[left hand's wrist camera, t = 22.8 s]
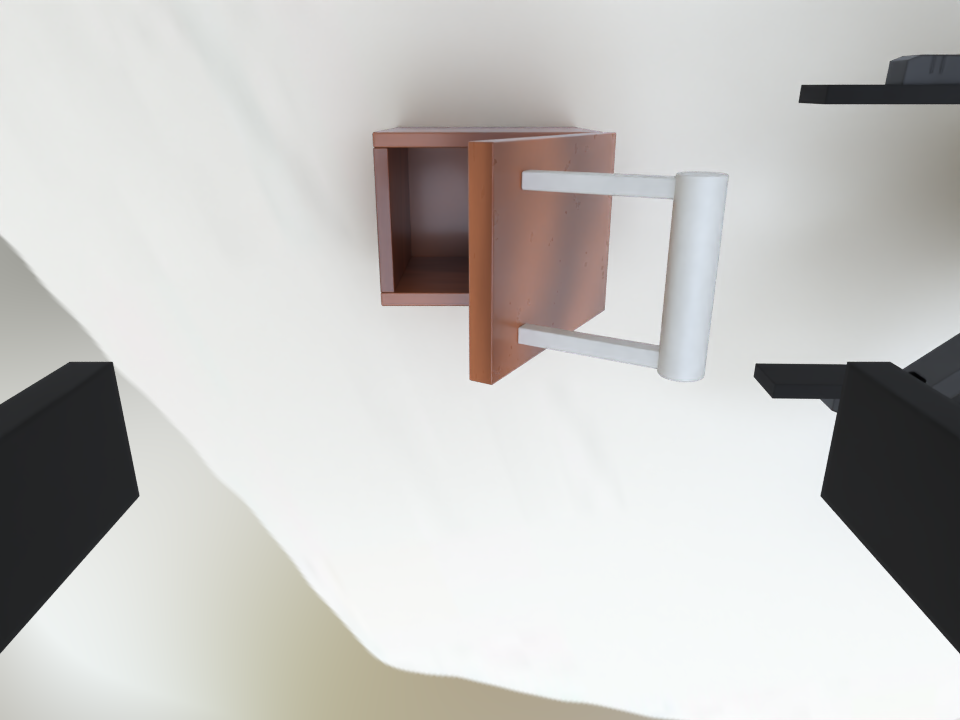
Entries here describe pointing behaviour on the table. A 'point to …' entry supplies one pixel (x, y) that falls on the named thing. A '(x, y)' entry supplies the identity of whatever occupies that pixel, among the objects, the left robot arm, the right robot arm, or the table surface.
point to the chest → (429, 209)
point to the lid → (579, 254)
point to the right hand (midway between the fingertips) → (785, 248)
